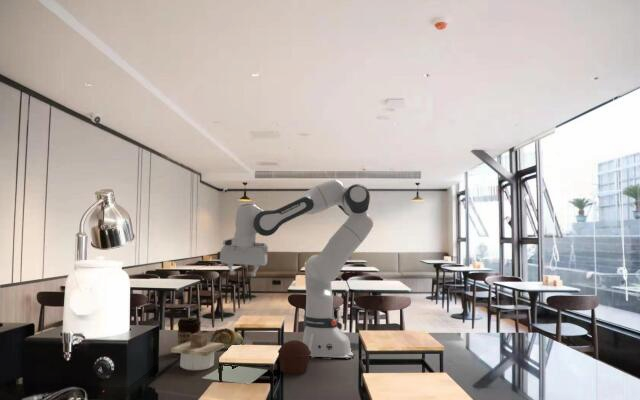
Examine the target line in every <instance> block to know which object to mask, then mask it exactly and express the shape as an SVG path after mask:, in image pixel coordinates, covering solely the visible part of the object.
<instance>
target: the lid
mask: <svg viewBox="0 0 640 400" xmlns="http://www.w3.org/2000/svg"><path fill="white" fill-rule="evenodd" d="M208 335H209V334H208V333H207V332H197V333H194V334H191V341H188V342H186V343H183V344H181V345H178V344H177V345H176V346H173V347H171V348H170V353H175V354H179V353H183V354H191V355H200V356H208V355H210V354H212V353H214V352H215V353H216V352H218V351H220V350H221V349H222V348H224V344H223V343H213V342H210V341H208Z"/></svg>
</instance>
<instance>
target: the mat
mask: <svg viewBox="0 0 640 400" xmlns="http://www.w3.org/2000/svg"><path fill="white" fill-rule="evenodd" d="M222 366H223V371H222V381H220V380H219V373H218V368H217V369H214V371H211V372H210V373H208V374H206V375H204V376H202V379H204V380H205V379H206V380H214V381H219V382H227V383H236V384H242V383H251V384H252V383H253V382H255V381H256V380H258V378H260V377H262V376H263V375H264V374H265V373H267V372H268V371H269V369H263V368H256V367H247V366H239V365H237V366H238V367H236V368H234V369H232V367H231V366H224V365H222Z"/></svg>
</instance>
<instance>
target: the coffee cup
mask: <svg viewBox="0 0 640 400" xmlns="http://www.w3.org/2000/svg"><path fill="white" fill-rule="evenodd" d="M200 327H201V321H200V318H199V317H191V316H190V317H180V318H179V320H178V322H177V328H178V330H177V346H178V345H181V344H183V343H186V342H188V341H191V334H194V333H197V332H199V329H200ZM199 333H200V332H199ZM178 354H180V355H181V353H178Z"/></svg>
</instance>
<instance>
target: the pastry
mask: <svg viewBox="0 0 640 400" xmlns="http://www.w3.org/2000/svg"><path fill="white" fill-rule="evenodd" d="M209 342H213V343H223V344H224V348H222V349H220V350H223V351H228V350H227V349H228V348H229V347H230V346H231V345H240V344H244V343H245V341H244V338H243V336H242V335H241V333H239V332H236V331H235V330H233V329H230V328H226V327H225V328H220V329H215V331H214V332H213V333H211V337H210V341H209Z"/></svg>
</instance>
